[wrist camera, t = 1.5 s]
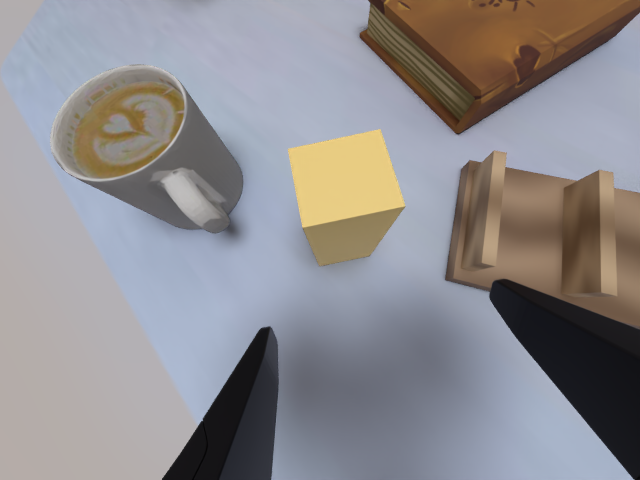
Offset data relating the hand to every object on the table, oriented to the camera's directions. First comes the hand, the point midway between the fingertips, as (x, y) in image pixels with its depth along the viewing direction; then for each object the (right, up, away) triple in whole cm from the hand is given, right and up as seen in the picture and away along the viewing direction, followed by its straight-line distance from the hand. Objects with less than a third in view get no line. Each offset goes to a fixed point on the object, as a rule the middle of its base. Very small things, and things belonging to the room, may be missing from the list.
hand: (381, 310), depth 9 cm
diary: (+17, +28, +20) cm, 38 cm away
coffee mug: (-15, +7, +16) cm, 23 cm away
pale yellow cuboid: (-1, +3, +14) cm, 14 cm away
